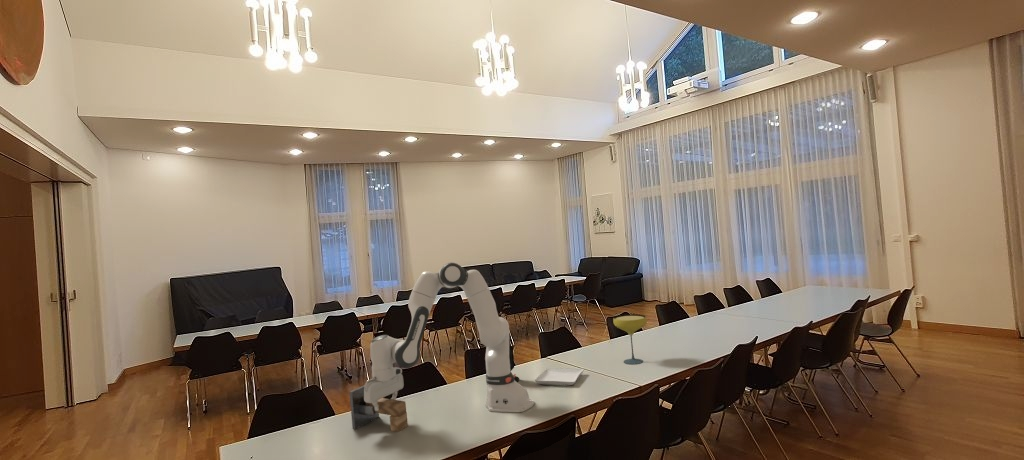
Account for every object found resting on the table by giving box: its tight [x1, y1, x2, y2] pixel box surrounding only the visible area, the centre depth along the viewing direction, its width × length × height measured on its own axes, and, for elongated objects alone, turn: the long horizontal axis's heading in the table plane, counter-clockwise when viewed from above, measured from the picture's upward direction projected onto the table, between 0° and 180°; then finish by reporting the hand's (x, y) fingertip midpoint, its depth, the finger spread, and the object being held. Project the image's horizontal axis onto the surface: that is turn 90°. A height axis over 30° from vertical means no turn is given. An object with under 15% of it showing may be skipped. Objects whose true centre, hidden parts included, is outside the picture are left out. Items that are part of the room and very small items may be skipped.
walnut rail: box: [366, 397, 407, 417], centre depth 206 cm, size 20×4×5 cm, turn 58°
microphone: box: [509, 333, 520, 383], centre depth 254 cm, size 14×14×25 cm
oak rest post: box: [389, 411, 409, 433], centre depth 202 cm, size 4×6×6 cm, turn 150°
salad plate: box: [534, 368, 585, 386], centre depth 248 cm, size 21×21×3 cm
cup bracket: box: [349, 385, 380, 430], centre depth 210 cm, size 10×14×16 cm
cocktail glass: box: [612, 313, 647, 365], centre depth 269 cm, size 18×18×25 cm
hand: (385, 406), depth 206 cm, fingers open, 8 cm apart
